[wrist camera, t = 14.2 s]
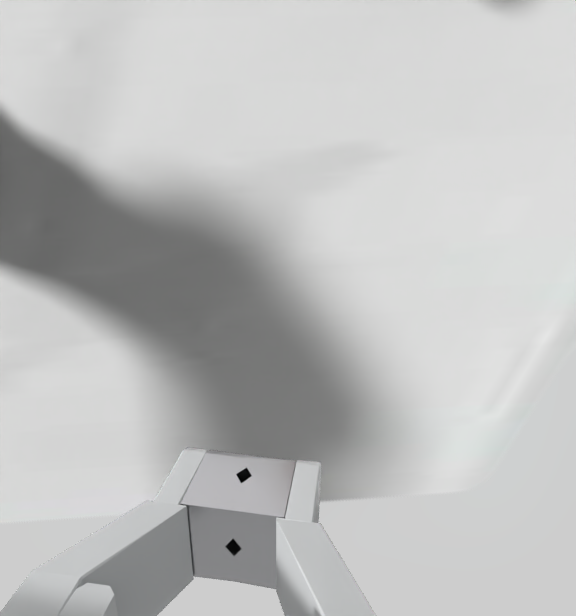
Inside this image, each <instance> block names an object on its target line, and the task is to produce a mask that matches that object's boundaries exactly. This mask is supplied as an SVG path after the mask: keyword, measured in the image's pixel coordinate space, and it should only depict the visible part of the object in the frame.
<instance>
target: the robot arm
mask: <svg viewBox="0 0 576 616" xmlns="http://www.w3.org/2000/svg"><path fill="white" fill-rule="evenodd" d="M320 481H321V463H320V462H315V461H304V460H289V459H279V458H270V457H260V456H252V455H245V454H237V453H230V452H223V451H216V450H205V449H198V448H191V447H187V448H186V449H184V450H183V451H182V453H181V454H180V456H179V458H178V460H177V461H176V463H175V465H174V467H173V468H172V470H171V472H170V473H169V475H168V477H167V479H166V480H165V482H164V484H163V486H162V487H161V489H160V491H159V492H158V494H157V496H156V498H155V499H154V501H145V502H143V503H142V504H140V505H139V506H137V507H135V508H134V509H132V510H130V511H129V512H127V513H125V514H124V515H122V516H121V517H119V518H117V519H116V520H114V521H112V522H111V523H109V524H108V525H106V526H104V527H103V528H101V529H100V530H98V531H96V532H95V533H93V534H91V535H90V536H88V537H86V538H85V539H83V540H81V541H80V542H78V543H77V544H75V545H73V546H72V547H70V548H68V549H67V550H65V551H64V552H62V553H60V554H59V555H57V556H55V557H54V558H52V559H51V560H49V561H47V562H46V563H44V564H42V565H41V566H39V567H38V568H36V569H34V570H33V571H31V573H30V574H29V575H28V577H27V578H26V579H25V581H24V582H23V583H22V584H21V586H20V587H19V588H18V590H17V591H16V593H15V594H14V595H13V596H12V598H11V599H10V600H9V601H8V603H7V604H6V605H5V607H4V608H3V609H2V610H1V612H0V616H157V615H158V614H159V613H160V612H161V611H162V610H163V609H164V608H165V607H166V606H167V605H168V604H169V603H170V602H171V601H172V600H173V599H174V598H175V597H176V596H177V595H178V594H179V593H180V592H181V591H182V590H183V589H184V588H185V587H186V586H187V585H188V584H189V583H190V582H191V581H192V580H193V576H195V577H203V578H212V579H220V580H228V581H235V582H240V583H246V584H251V585H257V586H263V587H267V588H273V589H276V590H277V594H278V597H279V600H280V603H281V606H282V609H283V612H284V614H285V616H376V615H375V613H374V611H373V610H372V608H371V606H370V605H369V603H368V601H367V600H366V598H365V596H364V595H363V593H362V591H361V590H360V588H359V586H358V585H357V583H356V581H355V580H354V578H353V577H352V575H351V573H350V571H349V570H348V568H347V566H346V565H345V563H344V561H343V560H342V558H341V556H340V555H339V553H338V551H337V550H336V548H335V546H334V545H333V543H332V541H331V540H330V538H329V537H328V535H327V533H326V531H325V530H324V528H323V526H322V525H321V524H320V523H318V519H319V502H320Z"/></svg>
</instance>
